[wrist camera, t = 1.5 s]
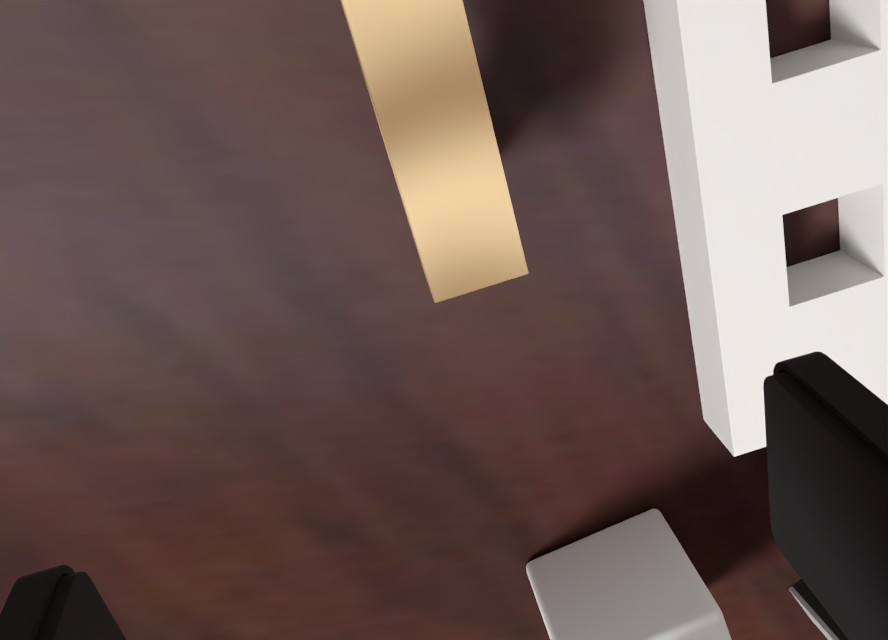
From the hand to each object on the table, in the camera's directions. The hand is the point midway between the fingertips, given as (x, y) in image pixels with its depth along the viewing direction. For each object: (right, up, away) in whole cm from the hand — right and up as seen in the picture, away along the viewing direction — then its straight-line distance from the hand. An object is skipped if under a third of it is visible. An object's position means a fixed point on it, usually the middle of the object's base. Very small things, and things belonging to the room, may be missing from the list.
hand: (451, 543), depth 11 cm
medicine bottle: (+8, -10, +31) cm, 33 cm away
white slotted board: (+13, +11, +21) cm, 27 cm away
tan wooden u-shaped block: (-2, +13, +18) cm, 22 cm away
